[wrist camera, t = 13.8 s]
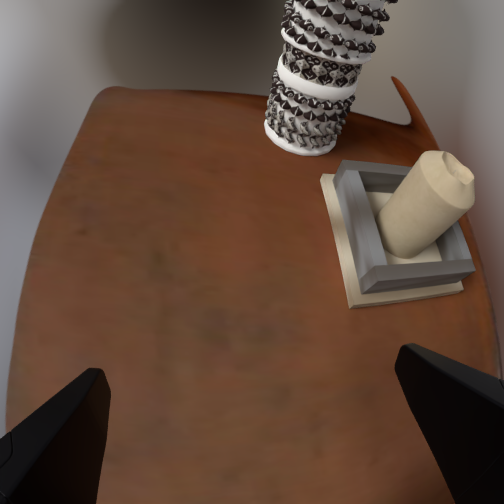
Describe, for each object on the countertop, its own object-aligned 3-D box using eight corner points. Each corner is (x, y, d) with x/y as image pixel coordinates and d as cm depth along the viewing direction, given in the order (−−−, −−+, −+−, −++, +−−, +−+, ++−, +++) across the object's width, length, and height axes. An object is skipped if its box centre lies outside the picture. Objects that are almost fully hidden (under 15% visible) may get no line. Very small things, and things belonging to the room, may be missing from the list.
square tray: (457, 293, 25) (482, 278, 22) (349, 308, 23) (370, 292, 20) (420, 187, 31) (437, 165, 27) (319, 180, 29) (332, 152, 26)
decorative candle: (335, 114, 35) (396, -62, 12) (343, 166, 30) (437, -52, 8) (263, 101, 34) (298, -90, 12) (258, 151, 30) (305, -98, 8)
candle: (426, 227, 27) (484, 166, 18) (415, 270, 25) (486, 211, 16) (382, 199, 28) (432, 127, 19) (366, 239, 25) (425, 166, 16)
